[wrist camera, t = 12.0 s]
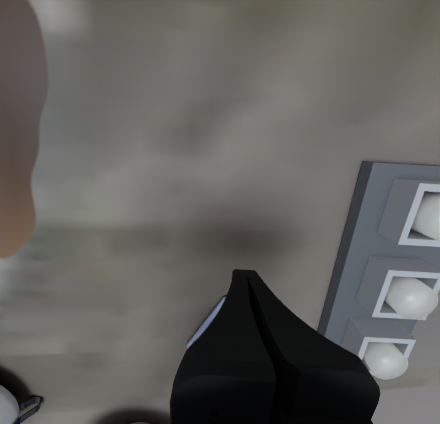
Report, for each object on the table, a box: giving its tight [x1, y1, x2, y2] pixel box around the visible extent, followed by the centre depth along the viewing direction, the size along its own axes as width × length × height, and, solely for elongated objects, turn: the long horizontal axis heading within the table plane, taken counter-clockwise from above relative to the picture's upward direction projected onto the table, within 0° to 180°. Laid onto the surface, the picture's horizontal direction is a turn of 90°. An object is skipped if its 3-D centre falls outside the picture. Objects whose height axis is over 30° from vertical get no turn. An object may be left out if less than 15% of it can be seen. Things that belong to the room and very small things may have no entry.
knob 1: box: [363, 342, 408, 379], centre depth 23 cm, size 4×4×4 cm
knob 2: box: [411, 191, 440, 241], centre depth 18 cm, size 4×4×4 cm
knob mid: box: [384, 276, 438, 319], centre depth 20 cm, size 4×4×4 cm
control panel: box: [318, 161, 440, 377], centre depth 21 cm, size 24×10×4 cm, turn 177°
